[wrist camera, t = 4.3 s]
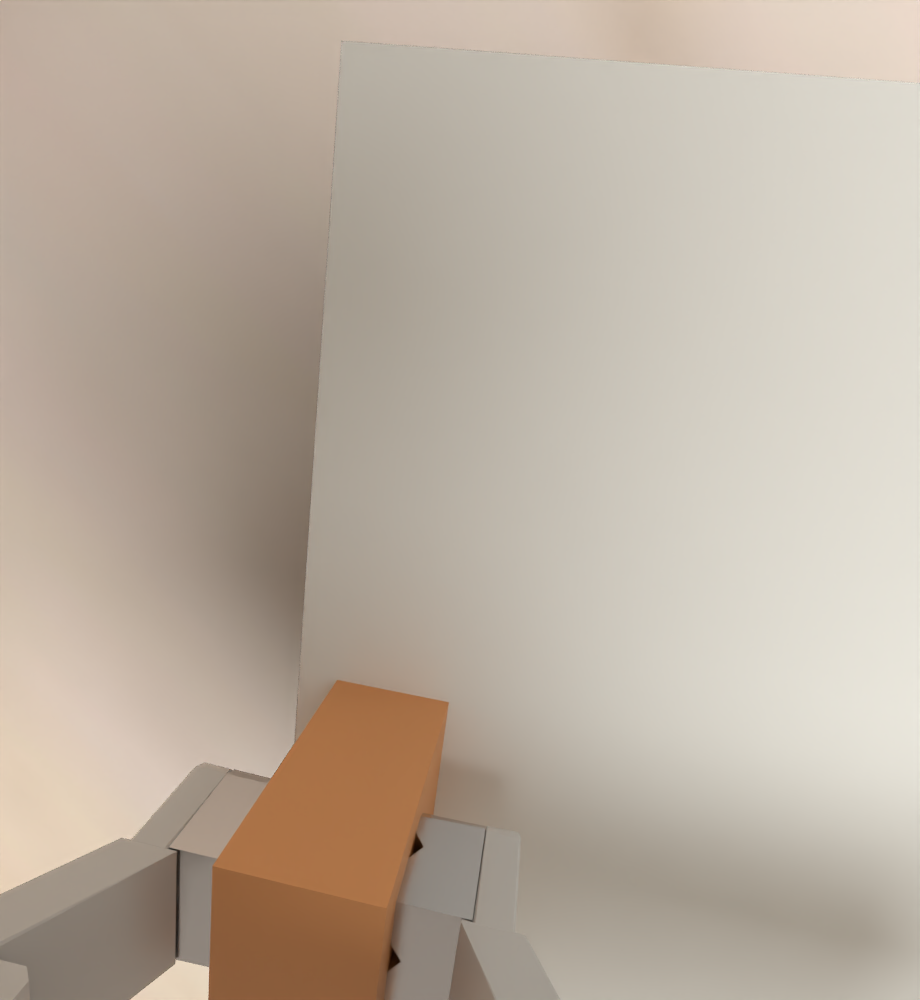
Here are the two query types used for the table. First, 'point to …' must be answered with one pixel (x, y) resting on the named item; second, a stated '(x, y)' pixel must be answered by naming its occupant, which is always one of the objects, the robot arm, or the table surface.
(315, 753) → the box lid
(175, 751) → the table surface
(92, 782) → the table surface
